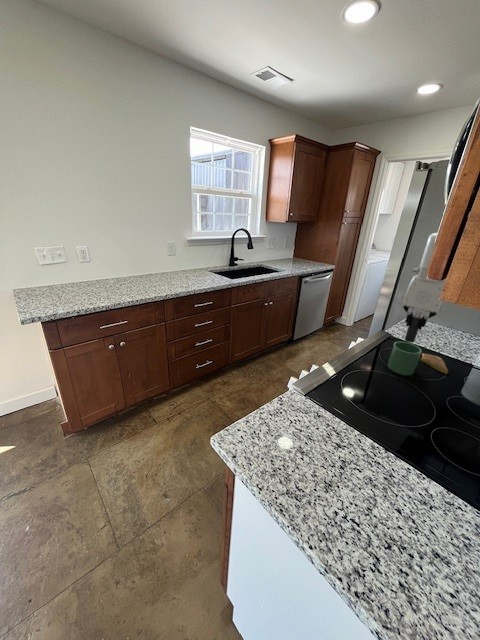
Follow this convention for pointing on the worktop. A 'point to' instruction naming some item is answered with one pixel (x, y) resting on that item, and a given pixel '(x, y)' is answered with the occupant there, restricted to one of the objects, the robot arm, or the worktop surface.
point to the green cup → (404, 358)
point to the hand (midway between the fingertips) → (414, 326)
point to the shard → (434, 362)
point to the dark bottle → (413, 327)
